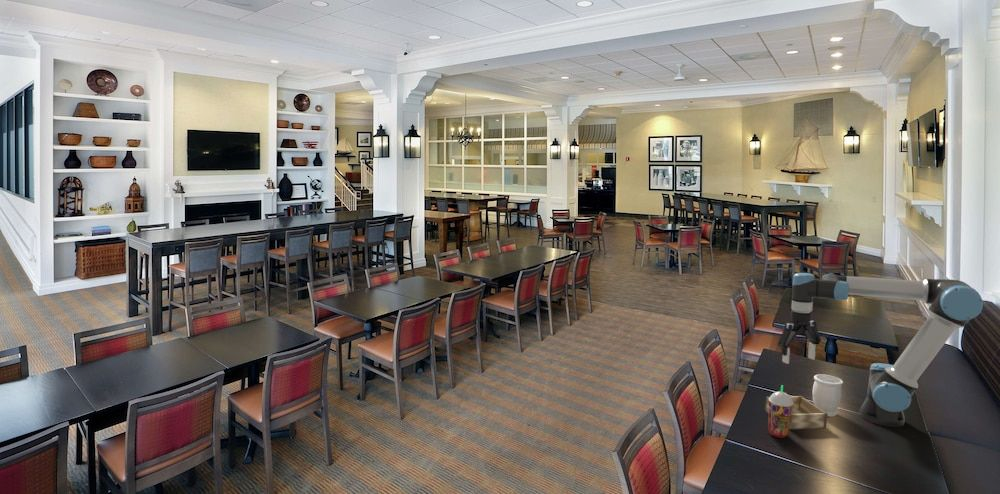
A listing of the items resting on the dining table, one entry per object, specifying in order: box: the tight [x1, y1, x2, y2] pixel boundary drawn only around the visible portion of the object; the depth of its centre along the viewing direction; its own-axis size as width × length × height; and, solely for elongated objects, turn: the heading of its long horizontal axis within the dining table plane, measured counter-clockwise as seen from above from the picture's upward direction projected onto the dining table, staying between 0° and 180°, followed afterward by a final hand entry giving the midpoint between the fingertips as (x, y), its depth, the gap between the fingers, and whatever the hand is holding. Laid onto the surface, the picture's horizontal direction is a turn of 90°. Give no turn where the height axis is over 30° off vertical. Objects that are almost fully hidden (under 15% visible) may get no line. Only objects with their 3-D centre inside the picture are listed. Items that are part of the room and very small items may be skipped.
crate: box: [764, 395, 828, 430], centre depth 222 cm, size 16×17×6 cm
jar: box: [811, 373, 844, 418], centre depth 228 cm, size 11×10×15 cm
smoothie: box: [767, 384, 793, 439], centre depth 208 cm, size 8×8×20 cm
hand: (798, 360), depth 225 cm, fingers open, 13 cm apart
